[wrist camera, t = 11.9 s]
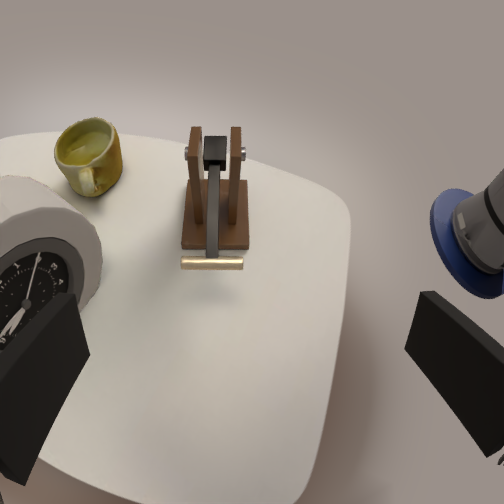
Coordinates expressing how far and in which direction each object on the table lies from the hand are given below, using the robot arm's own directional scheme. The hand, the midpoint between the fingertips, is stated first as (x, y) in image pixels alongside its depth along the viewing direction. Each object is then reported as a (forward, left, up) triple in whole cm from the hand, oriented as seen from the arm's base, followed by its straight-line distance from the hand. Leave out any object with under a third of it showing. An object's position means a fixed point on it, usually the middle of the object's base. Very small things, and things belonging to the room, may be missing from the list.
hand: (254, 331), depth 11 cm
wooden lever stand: (+13, -16, -22) cm, 30 cm away
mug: (+31, -11, -23) cm, 40 cm away
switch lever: (+10, -12, -14) cm, 21 cm away
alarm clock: (+23, +7, -23) cm, 33 cm away
